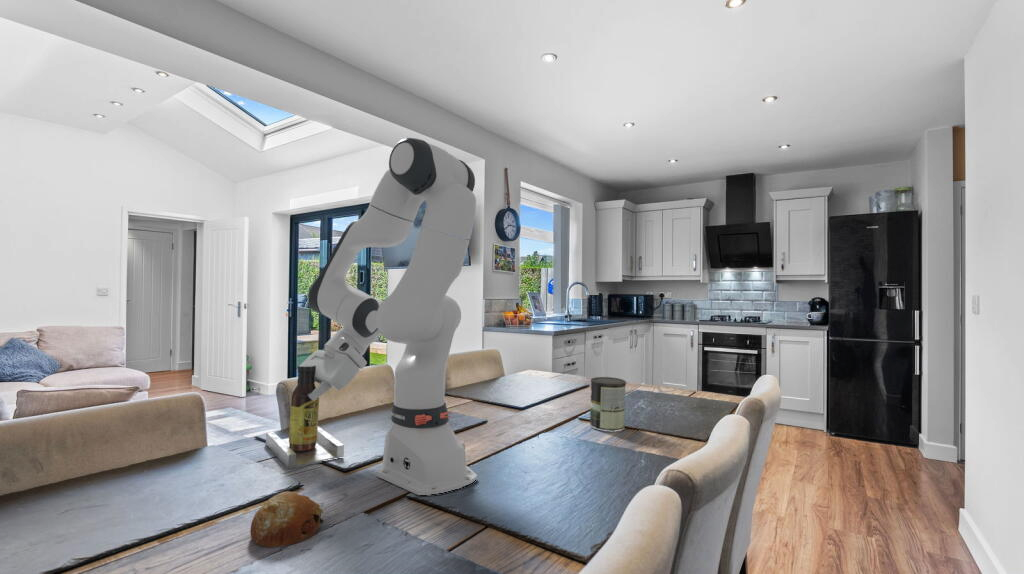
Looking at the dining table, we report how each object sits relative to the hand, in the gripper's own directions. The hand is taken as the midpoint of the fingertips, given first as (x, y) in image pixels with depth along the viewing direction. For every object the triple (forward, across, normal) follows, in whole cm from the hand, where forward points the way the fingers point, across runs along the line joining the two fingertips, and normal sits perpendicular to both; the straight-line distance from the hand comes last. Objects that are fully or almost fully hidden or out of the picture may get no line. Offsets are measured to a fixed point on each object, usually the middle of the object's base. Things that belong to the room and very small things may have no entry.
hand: (302, 395), depth 114 cm
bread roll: (+22, +35, -2) cm, 42 cm away
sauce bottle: (+9, 0, +10) cm, 13 cm away
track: (+9, 0, +10) cm, 13 cm away
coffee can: (-43, +38, +62) cm, 85 cm away
